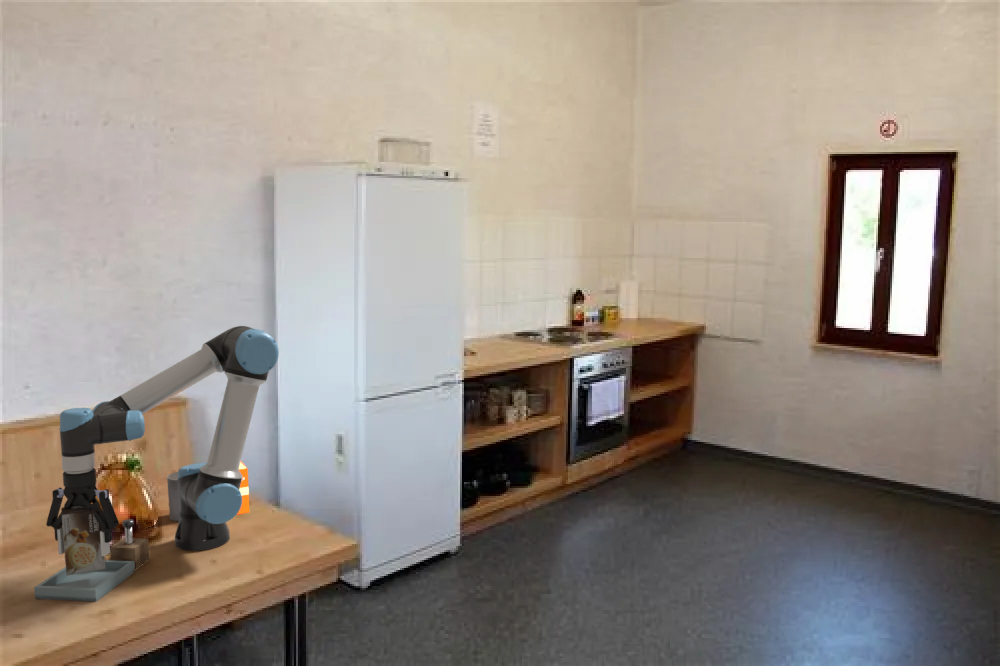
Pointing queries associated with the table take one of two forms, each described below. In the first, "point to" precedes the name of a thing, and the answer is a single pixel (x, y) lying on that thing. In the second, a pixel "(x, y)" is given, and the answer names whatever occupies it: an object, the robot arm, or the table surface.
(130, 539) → the peg
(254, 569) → the table surface
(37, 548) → the table surface
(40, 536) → the table surface
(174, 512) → the pillar candle
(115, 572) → the tray
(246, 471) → the orange juice
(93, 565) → the coffee box
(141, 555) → the walnut block
